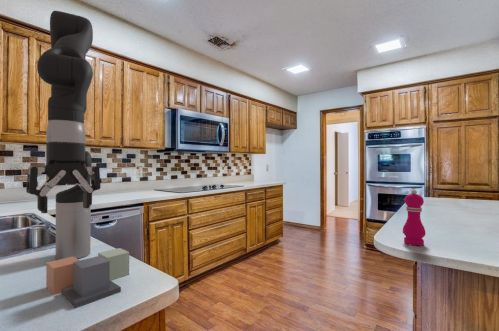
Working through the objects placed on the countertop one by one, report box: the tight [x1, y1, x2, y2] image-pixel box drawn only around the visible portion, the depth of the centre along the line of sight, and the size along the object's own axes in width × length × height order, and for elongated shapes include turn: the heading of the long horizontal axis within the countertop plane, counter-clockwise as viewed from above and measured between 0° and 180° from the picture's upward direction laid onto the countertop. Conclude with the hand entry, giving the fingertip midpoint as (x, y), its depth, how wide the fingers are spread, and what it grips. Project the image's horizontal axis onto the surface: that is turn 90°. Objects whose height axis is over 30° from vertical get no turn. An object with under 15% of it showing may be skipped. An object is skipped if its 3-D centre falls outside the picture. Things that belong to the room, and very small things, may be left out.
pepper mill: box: [402, 189, 426, 246], centre depth 98 cm, size 7×7×20 cm
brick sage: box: [97, 247, 130, 281], centre depth 69 cm, size 6×6×6 cm
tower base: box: [60, 255, 122, 309], centre depth 60 cm, size 9×9×7 cm
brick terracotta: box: [45, 256, 80, 296], centre depth 63 cm, size 6×6×6 cm
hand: (66, 210), depth 63 cm, fingers open, 8 cm apart
